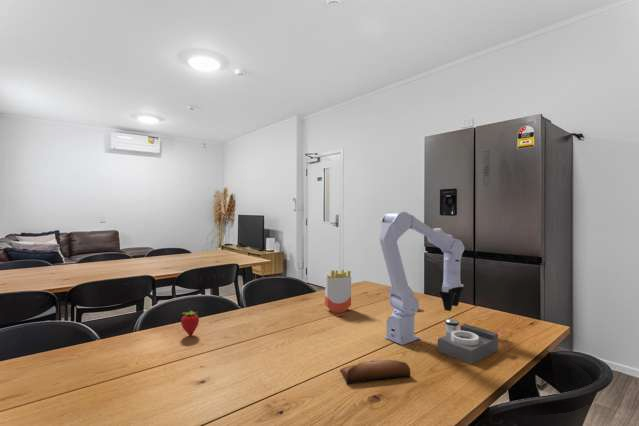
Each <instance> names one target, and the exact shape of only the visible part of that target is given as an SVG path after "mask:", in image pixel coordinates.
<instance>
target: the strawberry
mask: <svg viewBox="0 0 639 426" xmlns="http://www.w3.org/2000/svg"><path fill="white" fill-rule="evenodd" d="M197 313H198V311H193V310H192V309H189V311H188V312H181V314H183V316H182V318H181V319H180V323H181V326H182V329H183V330H184V331H185V332H186V333H187V335H188V336H189V337H191V336H193V334H194V333H195V331H196V330H197V328H198V325H199V321H200V317H199V316H198V314H197Z"/></svg>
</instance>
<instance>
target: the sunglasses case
mask: <svg viewBox="0 0 639 426" xmlns="http://www.w3.org/2000/svg"><path fill="white" fill-rule="evenodd" d="M339 373H340V374H341V375H342V378H343V379H344V381H345V383H346V385H347V384H354V383H360V382H364V381H369V380H377V379H381V380H382V379H386V378H396V377H407V376H408V377H411V368H410V366H409V365H408V363H407V362H404V361H400V360H396V359H380V360H379V359H377V360H369V361H367V360H366V361H362V362H359V363H356V364H351V365H347V366H345V367H343V368H340V369H339Z"/></svg>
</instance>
